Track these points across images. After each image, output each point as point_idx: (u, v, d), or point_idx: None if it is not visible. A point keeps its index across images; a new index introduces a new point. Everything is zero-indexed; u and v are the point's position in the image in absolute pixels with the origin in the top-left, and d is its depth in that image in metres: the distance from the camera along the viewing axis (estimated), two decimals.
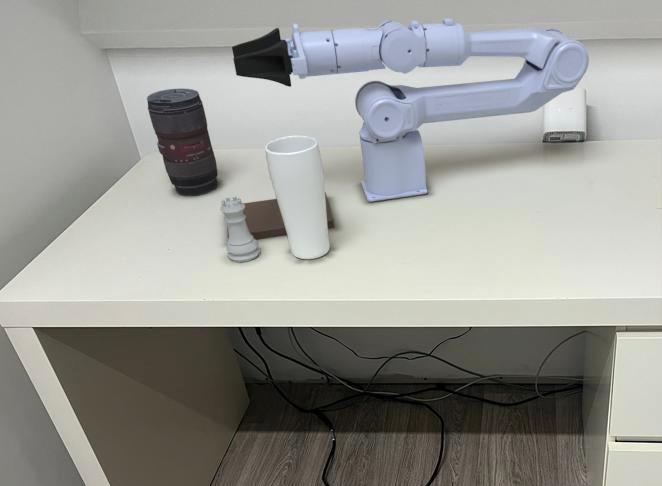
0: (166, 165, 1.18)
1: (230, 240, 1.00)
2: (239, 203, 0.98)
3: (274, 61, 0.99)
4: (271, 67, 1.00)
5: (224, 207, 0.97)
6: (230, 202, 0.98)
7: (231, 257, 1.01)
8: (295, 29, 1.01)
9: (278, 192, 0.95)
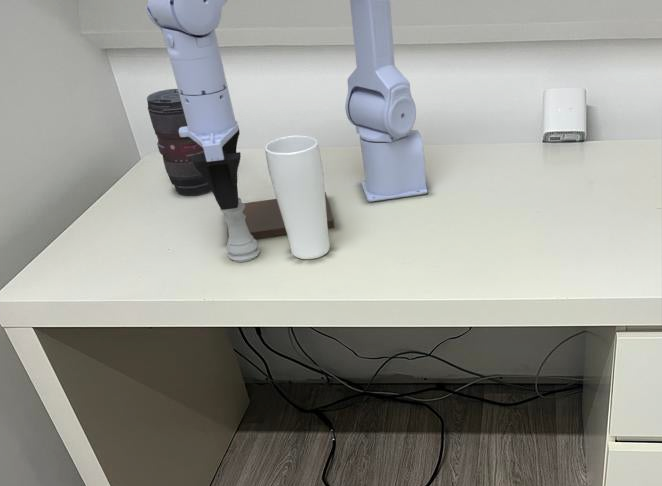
0: (166, 165, 1.18)
1: (230, 240, 1.00)
2: (239, 203, 0.98)
3: (217, 169, 0.91)
4: (223, 173, 0.91)
5: None
6: None
7: (231, 257, 1.01)
8: (183, 135, 0.91)
9: (278, 192, 0.95)
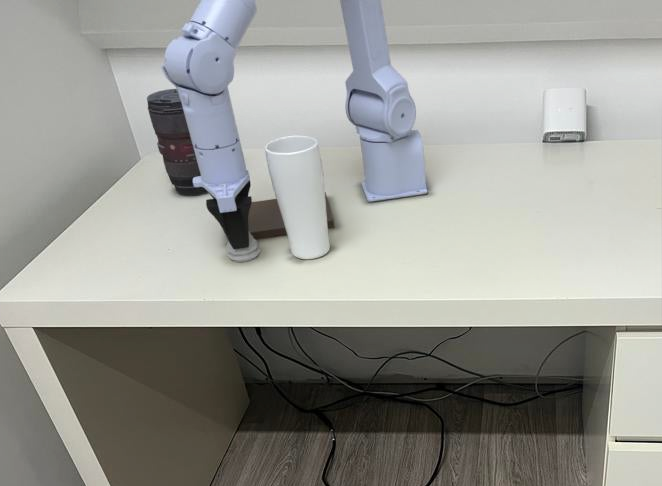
0: (166, 165, 1.18)
1: None
2: None
3: (229, 212, 0.96)
4: (235, 215, 0.97)
5: None
6: None
7: (231, 257, 1.01)
8: (197, 185, 0.95)
9: (278, 192, 0.95)
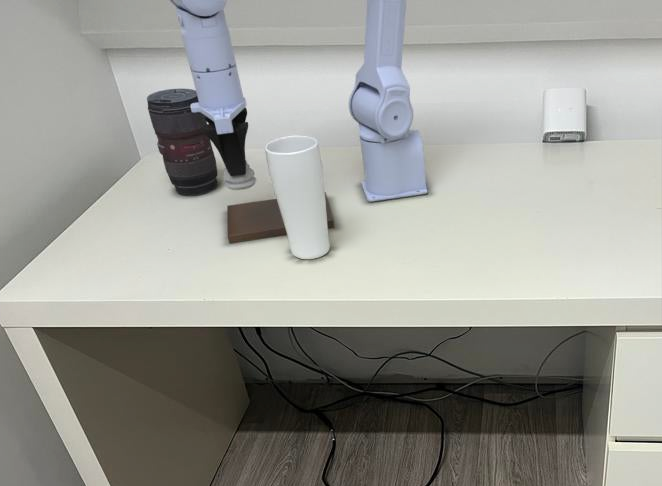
0: (166, 165, 1.18)
1: None
2: None
3: (226, 138, 0.98)
4: (232, 141, 0.99)
5: None
6: None
7: (228, 185, 1.03)
8: (195, 110, 0.97)
9: (278, 192, 0.95)
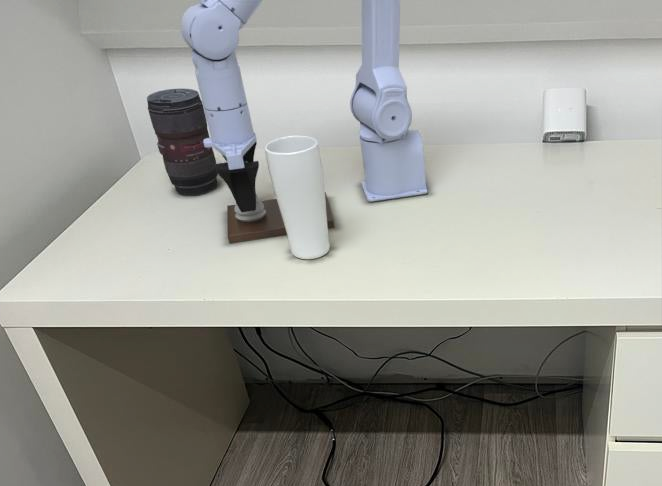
0: (166, 165, 1.18)
1: None
2: None
3: (237, 176, 1.02)
4: (243, 179, 1.02)
5: None
6: None
7: (239, 217, 1.08)
8: (208, 145, 1.02)
9: (278, 192, 0.95)
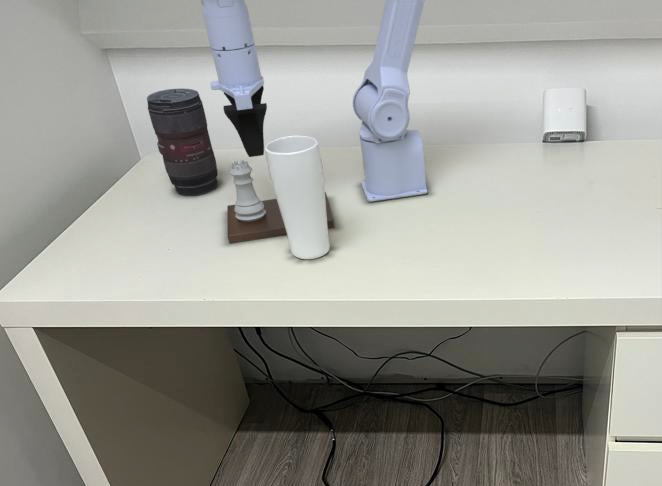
0: (166, 165, 1.18)
1: (238, 201, 1.07)
2: (247, 166, 1.05)
3: (245, 119, 1.01)
4: (251, 122, 1.01)
5: (233, 170, 1.05)
6: (238, 165, 1.05)
7: (239, 217, 1.08)
8: (215, 88, 1.00)
9: (278, 192, 0.95)
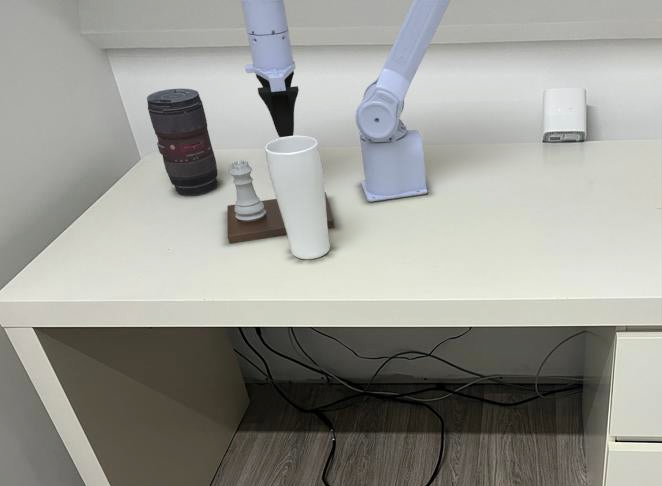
0: (166, 165, 1.18)
1: (238, 201, 1.07)
2: (247, 166, 1.05)
3: (277, 100, 1.06)
4: (283, 104, 1.07)
5: (233, 170, 1.05)
6: (238, 165, 1.05)
7: (239, 217, 1.08)
8: (249, 71, 1.06)
9: (278, 192, 0.95)
